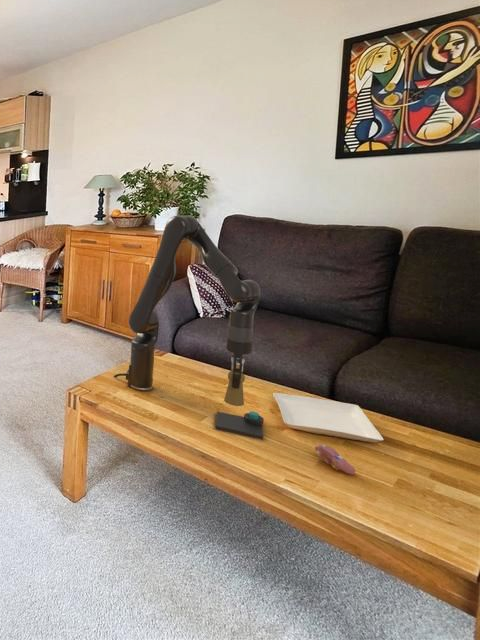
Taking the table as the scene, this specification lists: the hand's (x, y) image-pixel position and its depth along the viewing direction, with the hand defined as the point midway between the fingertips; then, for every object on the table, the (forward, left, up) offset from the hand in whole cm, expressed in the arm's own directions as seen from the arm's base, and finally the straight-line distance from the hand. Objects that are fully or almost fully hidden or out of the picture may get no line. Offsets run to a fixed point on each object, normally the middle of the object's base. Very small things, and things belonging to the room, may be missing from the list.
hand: (235, 384), depth 165 cm
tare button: (+7, +5, -13) cm, 15 cm away
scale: (+2, +1, -16) cm, 16 cm away
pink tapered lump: (+27, -12, -16) cm, 34 cm away
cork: (0, 0, -7) cm, 7 cm away
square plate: (+28, +19, -16) cm, 37 cm away
